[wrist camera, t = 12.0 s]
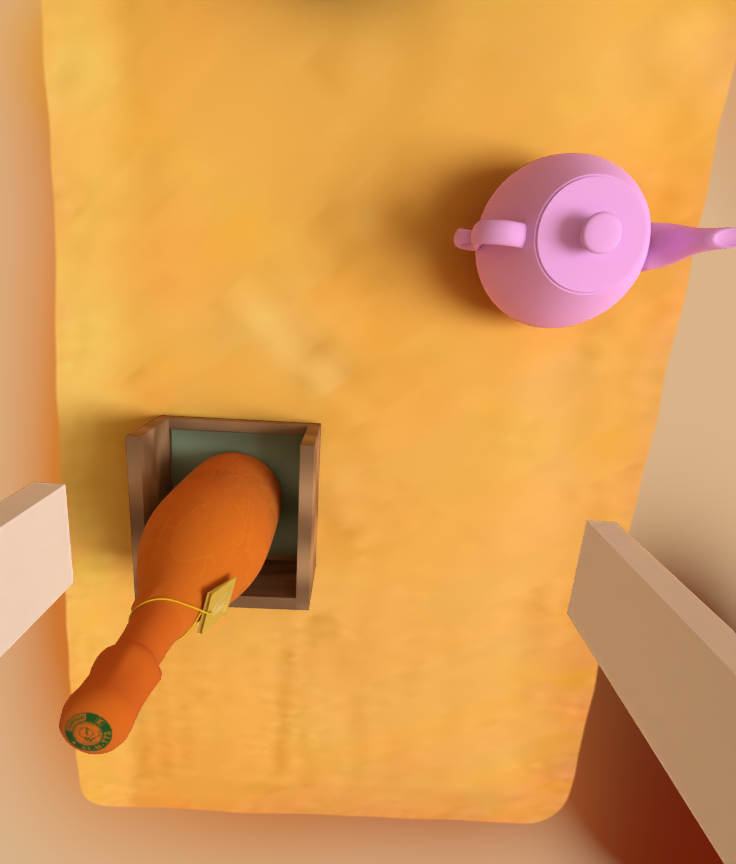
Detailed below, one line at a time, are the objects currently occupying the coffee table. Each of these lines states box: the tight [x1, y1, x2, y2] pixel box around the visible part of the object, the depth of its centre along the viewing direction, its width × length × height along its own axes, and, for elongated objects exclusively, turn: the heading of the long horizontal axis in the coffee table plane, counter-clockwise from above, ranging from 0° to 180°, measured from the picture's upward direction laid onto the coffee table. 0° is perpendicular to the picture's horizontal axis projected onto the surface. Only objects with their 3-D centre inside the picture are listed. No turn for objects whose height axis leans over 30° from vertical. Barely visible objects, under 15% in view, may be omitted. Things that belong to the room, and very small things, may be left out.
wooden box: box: [126, 415, 321, 610], centre depth 50 cm, size 16×16×8 cm
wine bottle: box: [59, 453, 282, 754], centre depth 38 cm, size 10×10×30 cm
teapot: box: [454, 153, 736, 328], centre depth 43 cm, size 20×14×12 cm
